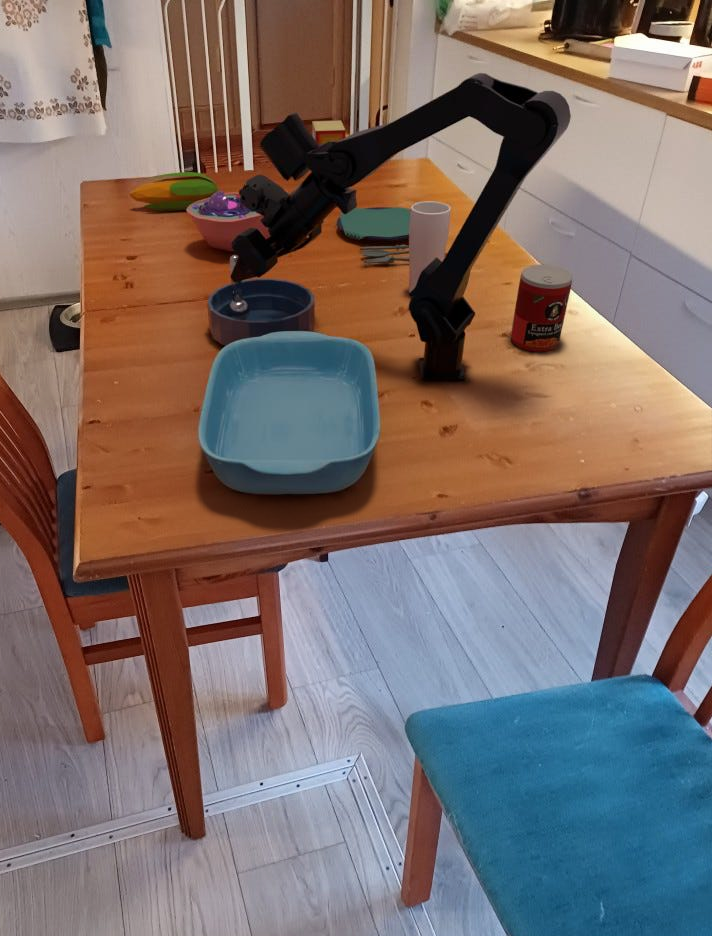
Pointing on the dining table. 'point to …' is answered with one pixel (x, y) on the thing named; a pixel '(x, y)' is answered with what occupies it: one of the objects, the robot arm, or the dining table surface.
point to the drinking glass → (427, 236)
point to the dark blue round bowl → (262, 310)
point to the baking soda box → (328, 131)
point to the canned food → (540, 307)
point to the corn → (175, 191)
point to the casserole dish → (290, 413)
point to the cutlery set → (377, 230)
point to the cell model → (224, 219)
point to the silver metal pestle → (237, 297)
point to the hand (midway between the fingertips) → (248, 269)
